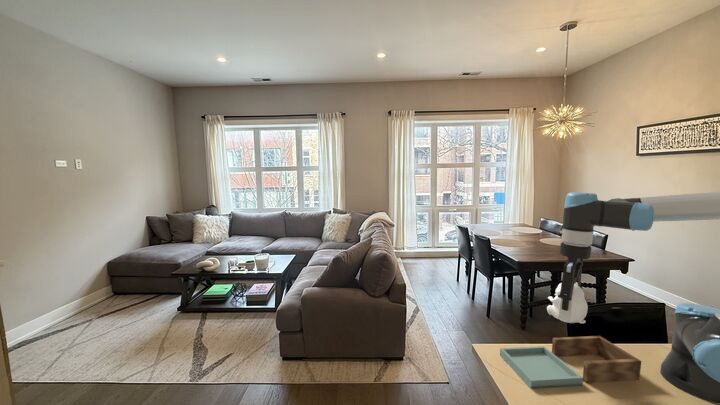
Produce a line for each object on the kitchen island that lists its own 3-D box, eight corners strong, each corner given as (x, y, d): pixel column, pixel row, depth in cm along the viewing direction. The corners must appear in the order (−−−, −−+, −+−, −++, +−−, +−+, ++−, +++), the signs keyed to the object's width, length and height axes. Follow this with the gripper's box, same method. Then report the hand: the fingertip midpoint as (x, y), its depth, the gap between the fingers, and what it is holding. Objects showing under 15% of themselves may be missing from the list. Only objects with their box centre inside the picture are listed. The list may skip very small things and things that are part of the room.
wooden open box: (598, 352, 100) (599, 335, 99) (639, 380, 86) (641, 361, 86) (551, 354, 98) (552, 337, 98) (586, 383, 85) (587, 363, 84)
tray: (543, 353, 99) (544, 346, 99) (582, 385, 84) (582, 377, 84) (499, 355, 98) (500, 348, 98) (530, 389, 82) (531, 380, 82)
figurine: (593, 324, 89) (598, 286, 87) (576, 332, 84) (581, 292, 83) (559, 310, 97) (562, 275, 96) (541, 316, 93) (545, 280, 92)
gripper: (568, 236, 99) (562, 299, 101) (551, 246, 83) (544, 321, 86) (597, 240, 93) (589, 307, 96) (584, 252, 78) (575, 332, 80)
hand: (568, 314), depth 91 cm, fingers closed on figurine, 10 cm apart
